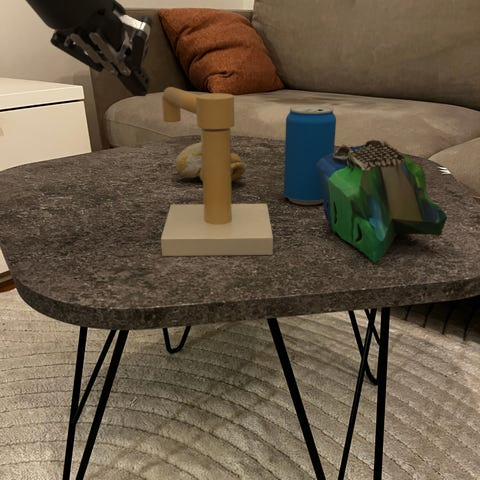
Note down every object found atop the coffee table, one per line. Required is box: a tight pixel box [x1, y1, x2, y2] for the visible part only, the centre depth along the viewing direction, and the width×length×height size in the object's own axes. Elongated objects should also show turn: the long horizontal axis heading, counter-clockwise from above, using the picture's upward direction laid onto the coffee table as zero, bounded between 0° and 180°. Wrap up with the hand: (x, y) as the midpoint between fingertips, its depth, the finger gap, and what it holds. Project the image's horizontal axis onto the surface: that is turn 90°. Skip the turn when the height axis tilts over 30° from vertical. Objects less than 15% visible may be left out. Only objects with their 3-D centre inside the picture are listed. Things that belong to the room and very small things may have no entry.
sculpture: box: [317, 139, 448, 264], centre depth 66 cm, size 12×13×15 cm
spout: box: [161, 86, 235, 129], centre depth 68 cm, size 16×4×4 cm, turn 27°
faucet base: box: [160, 128, 274, 257], centre depth 66 cm, size 12×12×12 cm
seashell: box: [174, 141, 247, 183], centre depth 90 cm, size 10×6×15 cm
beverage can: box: [283, 104, 337, 206], centre depth 79 cm, size 6×6×12 cm
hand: (142, 90), depth 68 cm, fingers closed
